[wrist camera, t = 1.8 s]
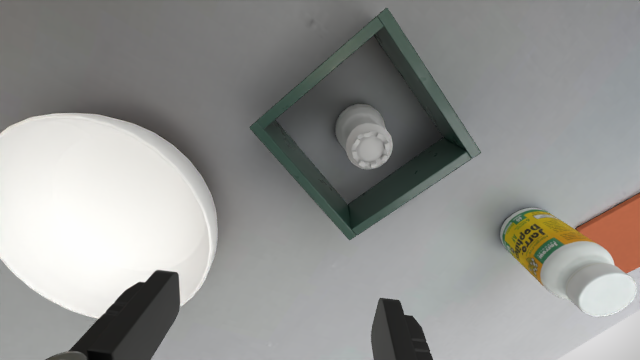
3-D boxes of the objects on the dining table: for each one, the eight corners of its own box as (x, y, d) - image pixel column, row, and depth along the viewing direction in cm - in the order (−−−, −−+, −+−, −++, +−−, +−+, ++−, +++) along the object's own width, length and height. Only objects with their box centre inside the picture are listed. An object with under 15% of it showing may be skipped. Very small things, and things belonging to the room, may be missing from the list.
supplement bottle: (537, 256, 31) (621, 330, 22) (489, 246, 31) (554, 318, 22) (562, 211, 30) (664, 273, 21) (511, 200, 29) (592, 259, 20)
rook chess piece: (383, 101, 26) (405, 114, 19) (383, 150, 28) (404, 180, 20) (333, 104, 26) (335, 119, 19) (336, 153, 28) (339, 183, 21)
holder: (375, 19, 24) (387, 7, 19) (455, 138, 27) (481, 152, 23) (262, 117, 27) (248, 127, 22) (346, 214, 30) (349, 241, 26)
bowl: (101, 292, 35) (56, 337, 29) (1, 132, 28) (-83, 148, 22) (259, 261, 33) (244, 302, 27) (190, 80, 26) (151, 83, 20)
